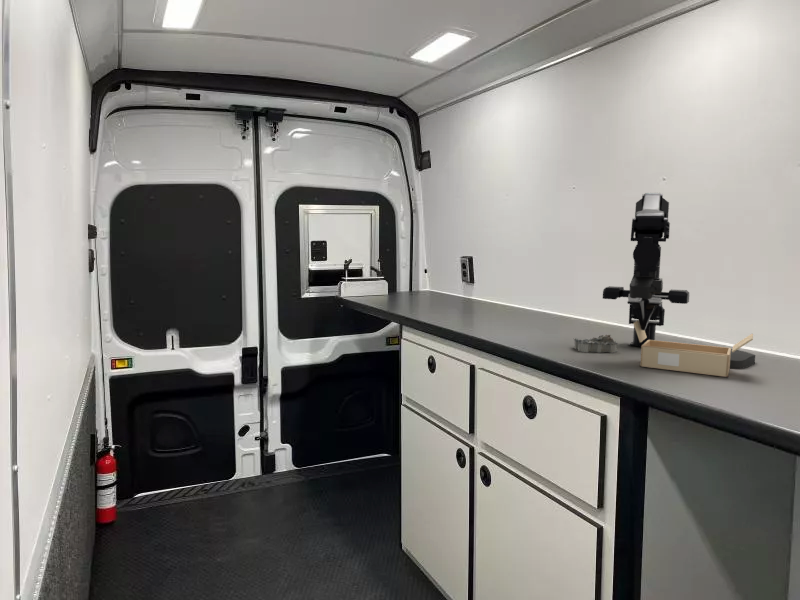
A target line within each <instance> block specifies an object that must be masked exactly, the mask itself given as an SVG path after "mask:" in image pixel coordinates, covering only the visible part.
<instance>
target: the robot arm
mask: <svg viewBox="0 0 800 600" xmlns="http://www.w3.org/2000/svg"><path fill="white" fill-rule="evenodd" d="M663 195H664V194H663V193H661V192H650V193H649V192H645V193H642V196H641V198H640V199H639V200H638V201H636V202H635V212H634V217H632V221H631V231H630V242H637V243H636V245H635V246H634V249H633V252H632V258H633V260H634V261H633V262H634V263H633V276H632V278H631V281H630V283H629V289H624V286H606V287H604V289H603V290H602V299H604V300H617V299H620V298H627V299H628V300H627V301H626V302H627V304H629V309H628V310H629V311H628V312H629V313H628V314H629V315H628V325H631V324H632V325H634V324H633V323H634V322H636V321H637V320H639V323H640V327H641V330H645V333H646V336H647V338H646V339H644V340H643V341H642V342H640V341H639V338H638V336H637V333H636V330H635V327H634V326H633V335H632V341H631V342H630V343H629V346H631V347H640V348H641V346H642V345H643V344H644V343H645V342H646V341H647V340H656V329H657V327H656V326H659V327H662V326H665V325H664V323H665V311H666V310H665V308H664V307H663V300H665V301H666V300H667V301H669V302H670V303H671V304H687V305H688V303H689V302H690V292H689V291H688V290H687V289H673V288H672V289H669V291H667V292H666V291H663V288H664V287H663V284H664V282H663V278H661V277H660V270H661V269H660V267H661V252H662V246H661V244H659V243H660V242H665V243H666V241H667V239H670V225H671V223H670V222H669V209H670V208H669V206H670V202H669V200H666V199H665V198H663Z"/></svg>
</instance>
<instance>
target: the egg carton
mask: <svg viewBox="0 0 800 600" xmlns="http://www.w3.org/2000/svg"><path fill="white" fill-rule="evenodd" d="M573 341H574V349H575V350H577V351H578V352H583V353H589V352H594V353H605V352H606V353H609V354H612V353H617V352H618V345H619V342H618V341H616V340H614V338H613V337H611V334H604V335H603V334H602V335H599V336H598V337H592V338H581V339H579V338H577V337H576V338H573Z"/></svg>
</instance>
